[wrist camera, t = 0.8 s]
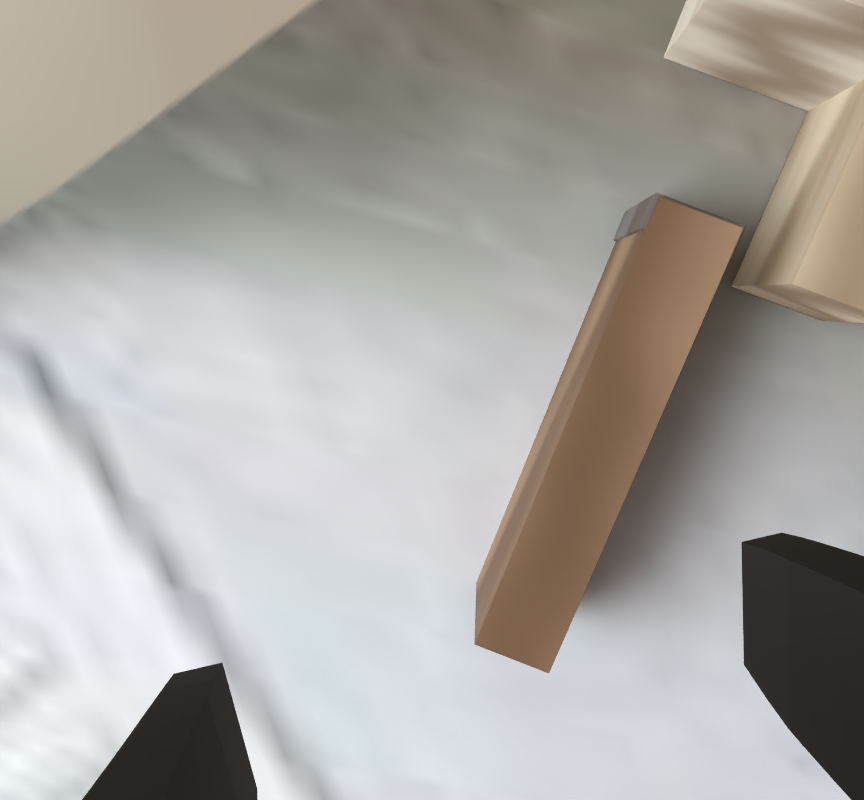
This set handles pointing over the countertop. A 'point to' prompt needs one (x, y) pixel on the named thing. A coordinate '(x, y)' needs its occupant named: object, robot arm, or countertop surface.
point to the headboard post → (797, 140)
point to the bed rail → (599, 424)
